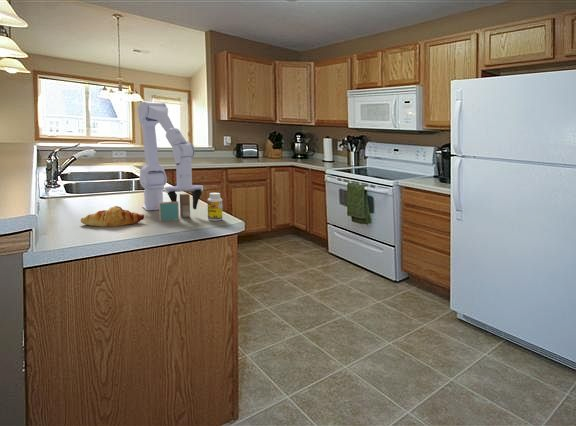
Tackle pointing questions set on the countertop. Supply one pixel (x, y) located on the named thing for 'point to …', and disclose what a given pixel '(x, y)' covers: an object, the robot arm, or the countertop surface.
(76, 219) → the countertop surface
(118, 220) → the croissant
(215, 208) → the supplement bottle
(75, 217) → the countertop surface
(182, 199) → the wooden rectangular block
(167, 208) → the tile
